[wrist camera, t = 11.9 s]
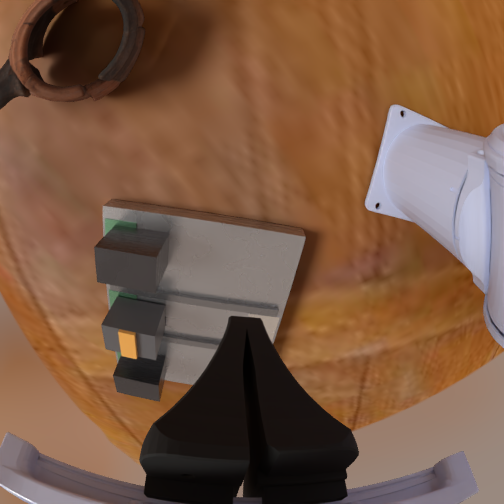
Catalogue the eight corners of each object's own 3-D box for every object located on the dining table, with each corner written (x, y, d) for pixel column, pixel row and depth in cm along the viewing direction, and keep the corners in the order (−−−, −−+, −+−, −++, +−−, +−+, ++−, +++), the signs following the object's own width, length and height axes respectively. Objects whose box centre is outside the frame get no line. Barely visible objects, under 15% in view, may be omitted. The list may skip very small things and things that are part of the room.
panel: (301, 228, 21) (317, 262, 17) (256, 380, 29) (258, 420, 24) (111, 199, 20) (79, 225, 15) (122, 359, 27) (109, 396, 23)
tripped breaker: (165, 305, 22) (153, 339, 18) (164, 329, 23) (155, 363, 20) (117, 296, 21) (100, 327, 18) (119, 320, 22) (104, 351, 19)
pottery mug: (106, -31, 11) (110, -63, 6) (157, 51, 19) (183, 56, 14) (-18, 68, 11) (-62, 85, 6) (41, 141, 18) (22, 185, 13)
